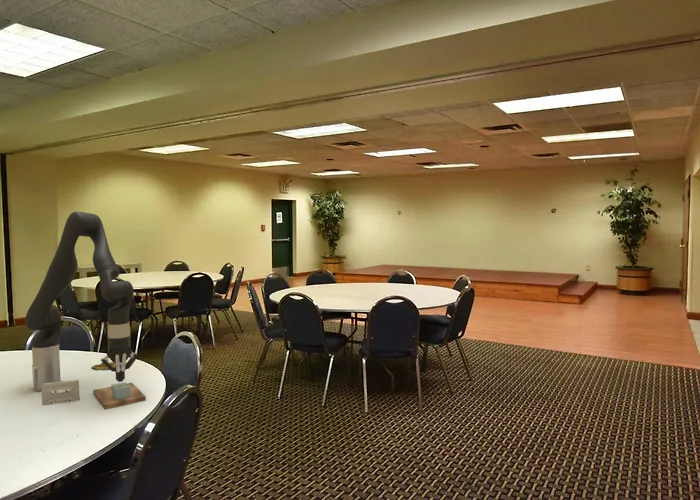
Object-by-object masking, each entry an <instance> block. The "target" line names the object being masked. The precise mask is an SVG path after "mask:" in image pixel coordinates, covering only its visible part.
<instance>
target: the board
mask: <svg viewBox="0 0 700 500" xmlns="http://www.w3.org/2000/svg"><path fill="white" fill-rule="evenodd" d="M126 383H127V382H126ZM127 384H128V385H129V386H130V397H129V398H125V399H120V400H116V399H115V398H114V397H113V396H112V386H108V387H102V388H97V389H93V390H92V394H93V396H94V395H95V396H94V397H95V398H96V400H97V401H98V402H100V403H99V404H100V406H101V407H102V408H103V409H104V410H107V409H113V408H117V407H122V406H126V405H131V404H135V403H140V402H145V401H147V398H146V397H147V396H146V395H145V394H144V393H143V392H142V391H141V390H140V389H139V388H138V387H137V386H136V385H135V384H134V383H133V382H128V383H127Z"/></svg>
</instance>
